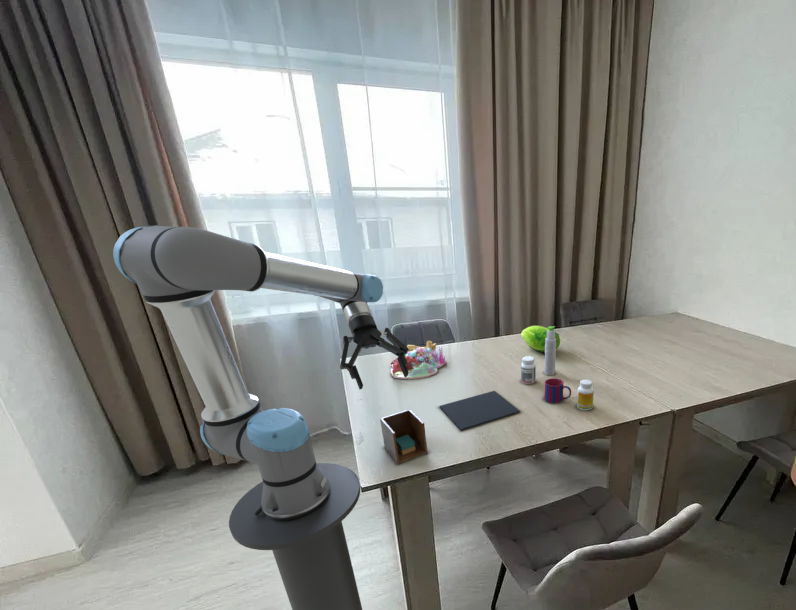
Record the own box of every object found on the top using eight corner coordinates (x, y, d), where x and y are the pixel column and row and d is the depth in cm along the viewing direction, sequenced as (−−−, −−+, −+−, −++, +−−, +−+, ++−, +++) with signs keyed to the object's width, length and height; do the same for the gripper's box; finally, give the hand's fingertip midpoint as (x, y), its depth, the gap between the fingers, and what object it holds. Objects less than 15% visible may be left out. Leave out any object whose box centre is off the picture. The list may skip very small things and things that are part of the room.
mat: (461, 430, 125) (460, 429, 125) (439, 407, 139) (439, 405, 139) (519, 412, 136) (519, 410, 135) (494, 392, 150) (494, 390, 150)
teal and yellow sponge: (395, 443, 116) (394, 438, 115) (408, 438, 118) (407, 434, 117) (401, 451, 112) (401, 446, 112) (415, 446, 114) (414, 441, 114)
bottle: (556, 374, 164) (558, 328, 156) (546, 375, 163) (548, 329, 155) (552, 370, 168) (554, 324, 160) (542, 371, 167) (543, 326, 159)
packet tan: (395, 447, 116) (395, 443, 116) (408, 442, 119) (408, 438, 118) (402, 455, 113) (401, 451, 112) (415, 450, 115) (415, 446, 114)
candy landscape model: (389, 360, 180) (386, 340, 177) (441, 353, 187) (439, 335, 183) (391, 382, 159) (388, 360, 155) (450, 374, 165) (449, 353, 162)
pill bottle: (528, 377, 162) (528, 354, 158) (538, 381, 158) (538, 358, 154) (518, 381, 158) (518, 358, 154) (528, 385, 154) (528, 362, 151)
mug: (551, 393, 149) (551, 376, 146) (574, 401, 143) (575, 383, 140) (540, 399, 144) (541, 382, 141) (564, 408, 138) (564, 390, 135)
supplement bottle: (594, 410, 136) (596, 384, 132) (578, 411, 136) (580, 385, 132) (590, 403, 141) (592, 378, 137) (575, 403, 141) (576, 378, 137)
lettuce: (533, 341, 202) (533, 319, 197) (567, 353, 186) (568, 329, 181) (514, 347, 194) (514, 324, 190) (547, 360, 178) (548, 335, 174)
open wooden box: (384, 447, 117) (380, 418, 113) (413, 437, 122) (409, 408, 118) (397, 464, 110) (392, 433, 106) (427, 452, 115) (424, 422, 111)
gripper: (397, 319, 131) (421, 375, 126) (316, 334, 118) (339, 398, 113) (401, 306, 125) (426, 365, 120) (317, 321, 112) (341, 387, 107)
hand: (384, 381), depth 117 cm, fingers open, 13 cm apart
